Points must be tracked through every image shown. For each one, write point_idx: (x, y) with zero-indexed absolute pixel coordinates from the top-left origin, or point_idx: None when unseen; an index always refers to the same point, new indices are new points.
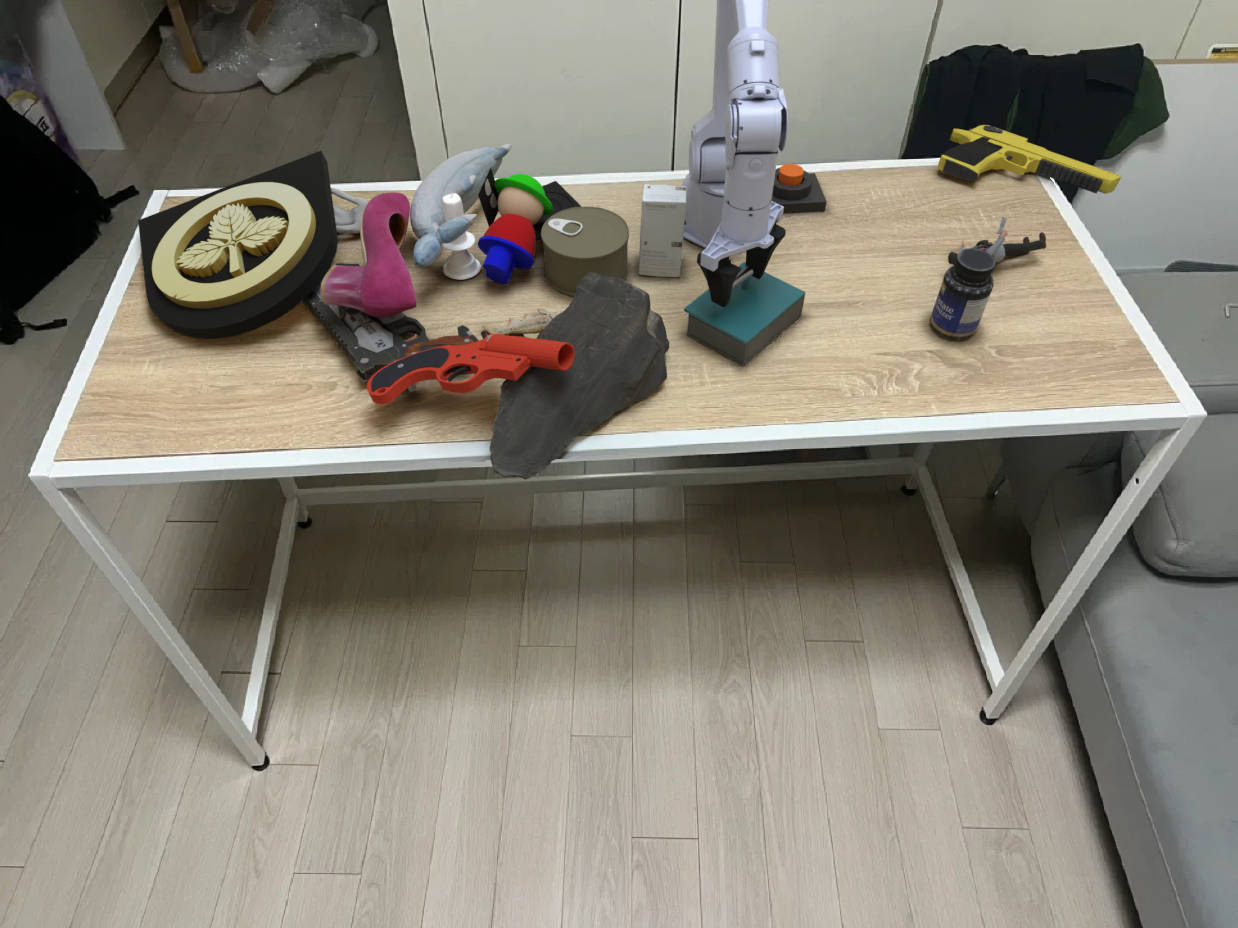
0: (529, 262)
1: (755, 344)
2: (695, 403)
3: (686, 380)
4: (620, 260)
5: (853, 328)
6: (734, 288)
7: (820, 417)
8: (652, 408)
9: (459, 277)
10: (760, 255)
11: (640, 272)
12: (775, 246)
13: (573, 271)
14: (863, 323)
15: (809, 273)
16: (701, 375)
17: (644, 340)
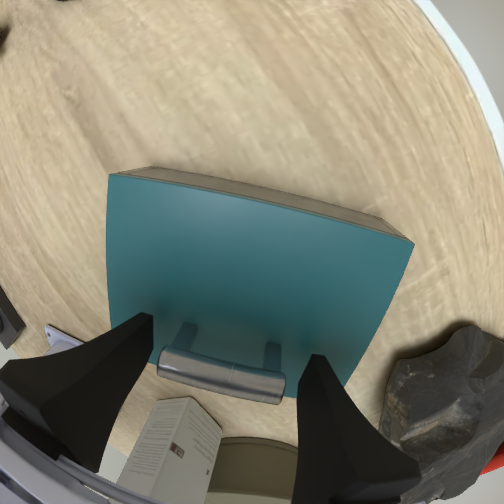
0: None
1: (358, 218)
2: (481, 262)
3: (441, 299)
4: (253, 473)
5: (134, 57)
6: (266, 373)
7: (432, 37)
8: (490, 310)
9: None
10: (112, 374)
11: (221, 433)
12: (59, 364)
13: None
14: (113, 53)
15: (49, 215)
16: (426, 283)
17: (491, 406)
